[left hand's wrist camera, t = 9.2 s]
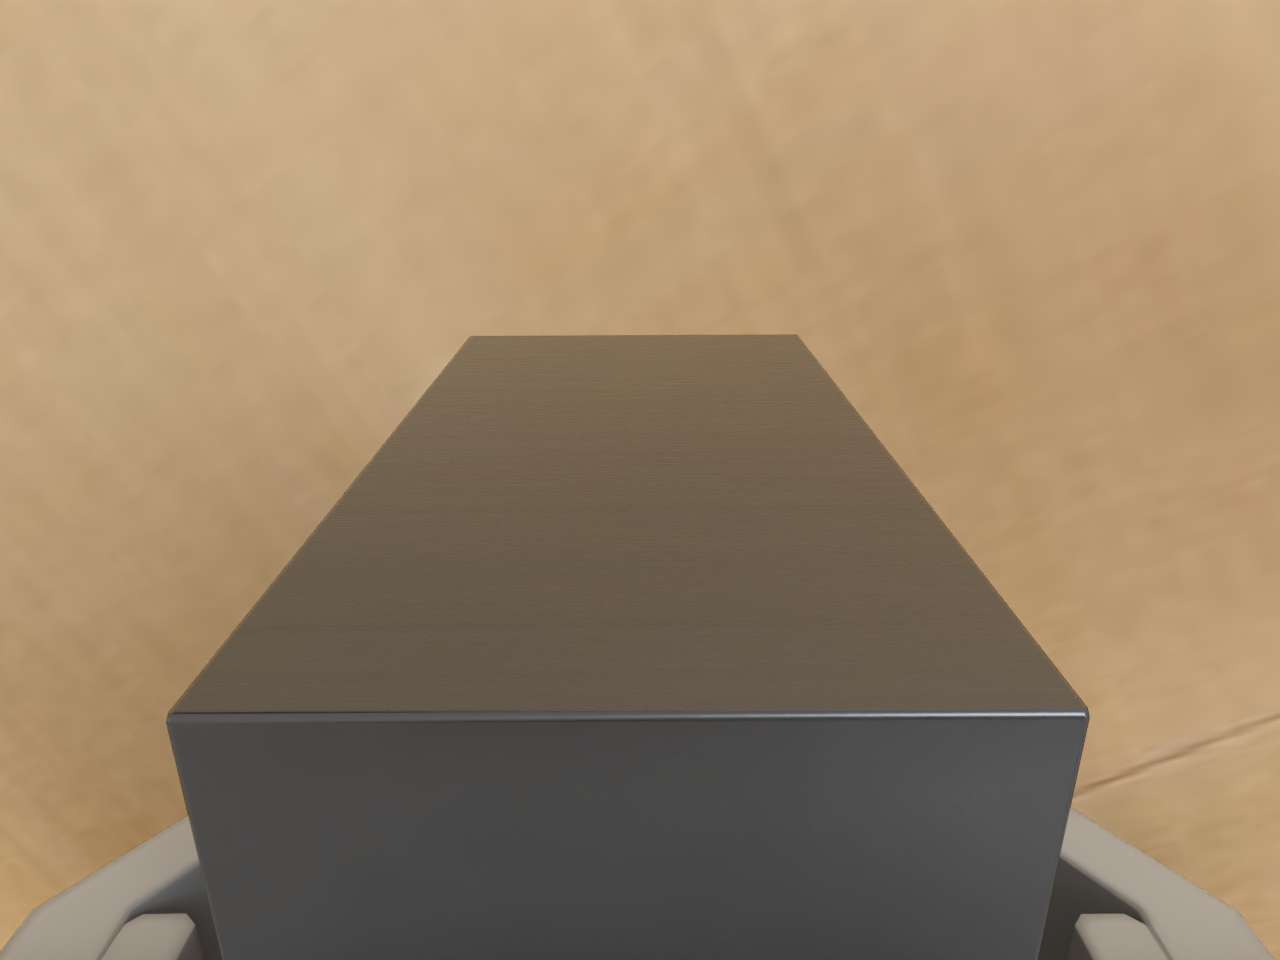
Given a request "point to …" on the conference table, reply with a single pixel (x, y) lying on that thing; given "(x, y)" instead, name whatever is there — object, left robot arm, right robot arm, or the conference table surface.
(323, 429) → the conference table surface
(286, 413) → the conference table surface
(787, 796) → the bar
